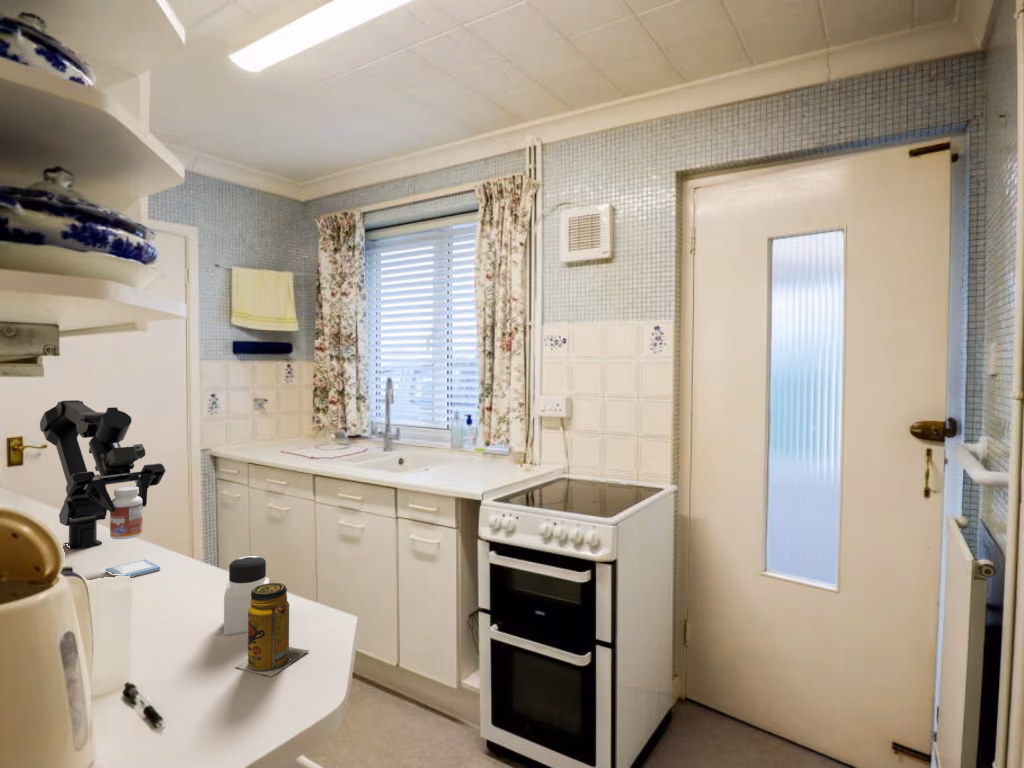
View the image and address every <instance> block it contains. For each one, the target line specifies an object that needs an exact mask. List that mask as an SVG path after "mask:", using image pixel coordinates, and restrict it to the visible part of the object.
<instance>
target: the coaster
mask: <svg viewBox="0 0 1024 768" xmlns="http://www.w3.org/2000/svg"><path fill="white" fill-rule="evenodd" d="M157 570H160V571H161V566H159V565H157V564H155V563H153V562H152V561H149V560H147V559H141V560H136V561H131V562H128V563H123V564H120V565H115V566H111V567H108V568H105V572H106V571H108V572H111V573H112V574H125V575H113V576H129V575H130V577H132V576H136V575H140V576H142V575H141V574H144V575H146V574H145V573H148V574H150V572H152V573H154V571H156V572H158V571H157ZM113 576H112V577H113ZM136 577H137V576H136ZM132 578H133V577H132Z"/></svg>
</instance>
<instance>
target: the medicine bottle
mask: <svg viewBox="0 0 1024 768" xmlns="http://www.w3.org/2000/svg"><path fill="white" fill-rule="evenodd" d="M228 568H229V569H228V571H229V572H228V576H229V577H228V578H229V579H228V582H227V583H226V587H225V591H224V592H225V593H224V596H223V597H224V598H223V635H224V636H232V635H238V634H239V635H240V634H245V633H248V610H249V607H250V606H251V591H252V590H253V589H254V588H255V587H257V586H259V585H262V584H267V583H270V578H269V577H267V560H266V559H264V557H261V556H258V555H256V556H255V555H249V556H242V557H239V558H236V559H234V560H232V561H231V563H230V564H229V565H228Z"/></svg>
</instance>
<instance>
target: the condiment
mask: <svg viewBox="0 0 1024 768" xmlns="http://www.w3.org/2000/svg"><path fill="white" fill-rule="evenodd" d="M287 592H288V589H287V587H286V584H284V583H279V582H269V583H267V584H262V585H259V586H257V587H255V588H254V589H253V590H252V591H251V606H250V607H249V610H248V632H247V660H245V661H243V662H241V663H240V664H238V665H236V666H234V667H235V668H238V669H241V670H243V671H246V672H251V673H255V674H258V675H263V676H264V675H265V676H268V677H273V676H274V675H276V674H278V673H279V672H281V671H282V670H284V669H285V668H287V667H288V666H290V665H291V664H292V663H294V662H295V661H296V660H298V659H299V658H301V657H302V656H303V657H304V655H305V654H306V653H309V651H310V649H302V648H297V647H293V646H290V603H289V601H288V595H287Z"/></svg>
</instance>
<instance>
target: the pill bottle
mask: <svg viewBox="0 0 1024 768" xmlns="http://www.w3.org/2000/svg"><path fill="white" fill-rule="evenodd" d="M137 494H139V487H136V485H135V486H131V485H129V486H128V485H127V486H121V487H116V488H114V490H113V496H114V498H113V499H111V500H112V503H113V506H114V512H110V511H109V513H110V516H109V532H110V533H109V536H110V538H111V539H112V540H128V539H133V538H137V537H140V536H141V535H142V534H143V523H144V522H143V518H144V517H143V508H144V507H143V500H142V498H141V497H139V496H138V495H137Z"/></svg>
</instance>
